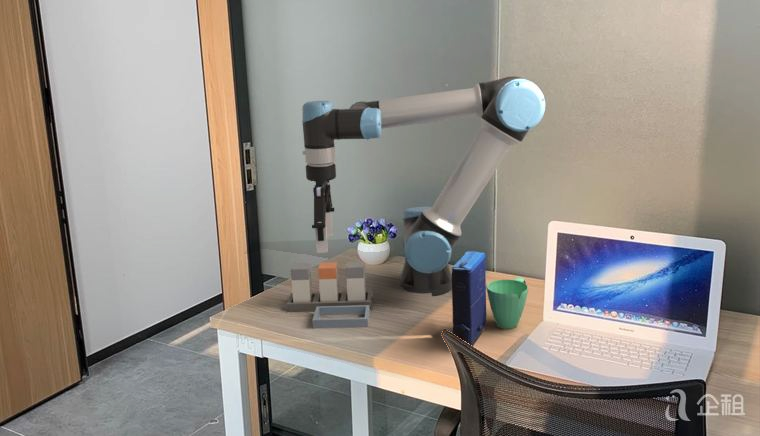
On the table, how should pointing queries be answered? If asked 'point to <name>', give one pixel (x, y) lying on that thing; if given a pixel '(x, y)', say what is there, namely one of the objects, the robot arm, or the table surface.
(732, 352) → the table surface
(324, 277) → the block
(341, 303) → the block
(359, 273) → the block
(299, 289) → the block
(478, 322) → the book
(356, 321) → the tray
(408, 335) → the table surface
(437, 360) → the table surface
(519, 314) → the mug
